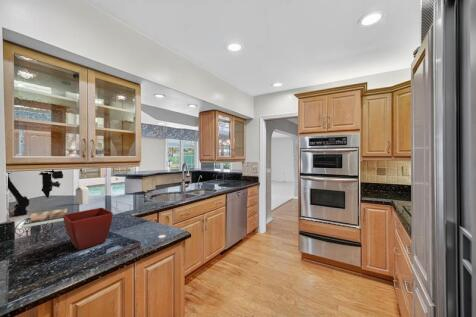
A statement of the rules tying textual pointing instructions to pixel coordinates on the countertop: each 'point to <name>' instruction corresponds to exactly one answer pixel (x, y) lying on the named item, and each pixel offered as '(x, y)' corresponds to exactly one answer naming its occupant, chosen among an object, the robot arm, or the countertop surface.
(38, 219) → the terracotta tile
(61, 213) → the walnut tile
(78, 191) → the milk carton
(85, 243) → the plant pot
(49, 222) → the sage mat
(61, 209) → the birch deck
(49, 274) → the countertop surface
